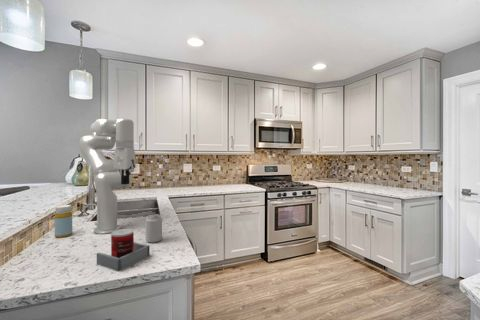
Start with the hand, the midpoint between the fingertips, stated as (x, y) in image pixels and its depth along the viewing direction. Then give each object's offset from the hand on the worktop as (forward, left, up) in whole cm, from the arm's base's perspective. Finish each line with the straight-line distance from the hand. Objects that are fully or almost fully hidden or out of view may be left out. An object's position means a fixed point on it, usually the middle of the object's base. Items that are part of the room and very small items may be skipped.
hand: (125, 184), depth 109 cm
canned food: (+17, -14, -27) cm, 35 cm away
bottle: (-34, -9, -27) cm, 45 cm away
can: (+12, +6, -27) cm, 30 cm away
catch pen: (+17, -14, -27) cm, 35 cm away
